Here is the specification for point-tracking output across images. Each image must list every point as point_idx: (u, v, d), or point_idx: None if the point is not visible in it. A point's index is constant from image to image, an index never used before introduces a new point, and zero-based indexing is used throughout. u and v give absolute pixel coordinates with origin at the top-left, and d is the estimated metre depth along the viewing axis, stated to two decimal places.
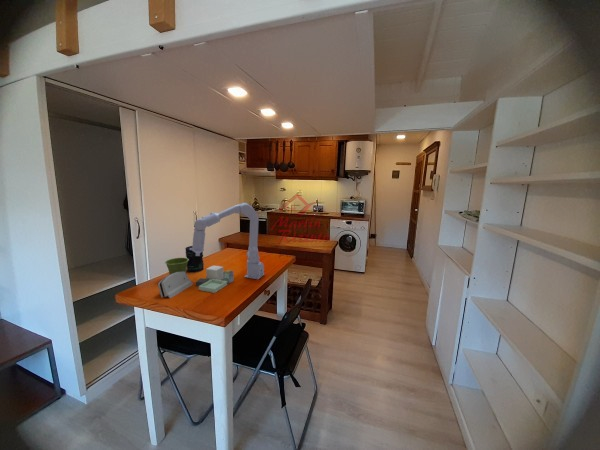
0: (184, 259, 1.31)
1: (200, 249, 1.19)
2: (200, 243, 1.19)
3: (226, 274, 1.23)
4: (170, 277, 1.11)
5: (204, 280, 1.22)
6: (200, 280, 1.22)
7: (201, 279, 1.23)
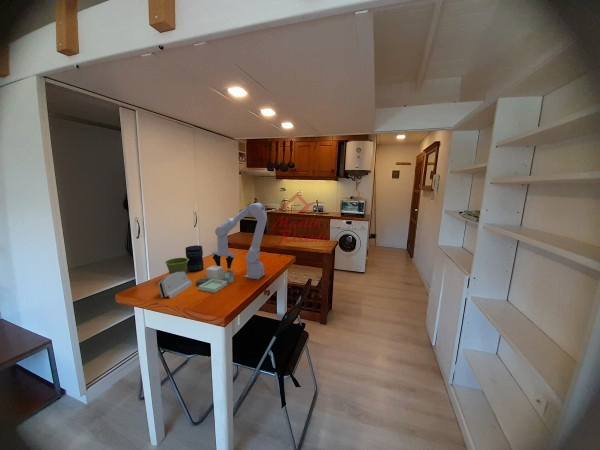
0: (184, 259, 1.31)
1: (228, 252, 1.34)
2: (227, 247, 1.33)
3: (226, 274, 1.23)
4: (170, 277, 1.11)
5: (204, 280, 1.22)
6: (200, 280, 1.22)
7: (201, 279, 1.23)
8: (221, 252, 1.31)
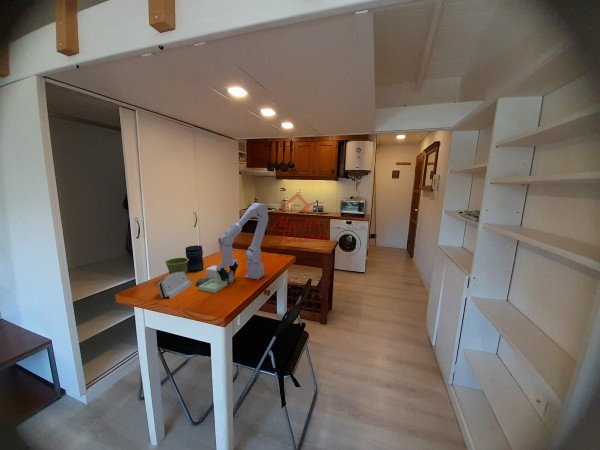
0: (184, 259, 1.31)
1: None
2: None
3: (226, 274, 1.23)
4: (169, 277, 1.11)
5: (204, 280, 1.22)
6: (200, 280, 1.22)
7: (201, 279, 1.23)
8: (232, 261, 1.23)
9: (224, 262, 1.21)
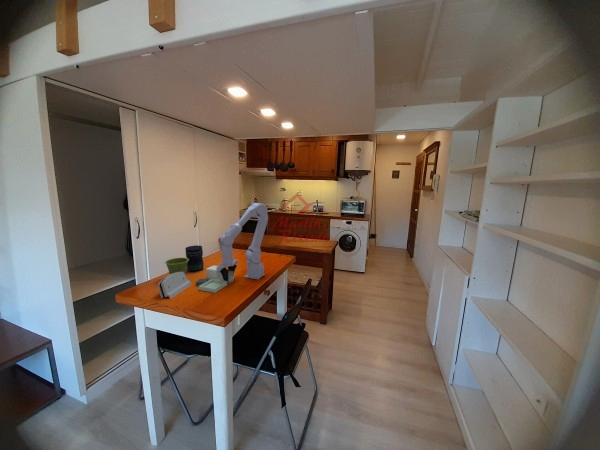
0: (184, 259, 1.31)
1: None
2: None
3: None
4: (169, 277, 1.11)
5: (204, 280, 1.22)
6: (200, 280, 1.22)
7: (201, 279, 1.23)
8: (232, 261, 1.23)
9: (224, 262, 1.21)
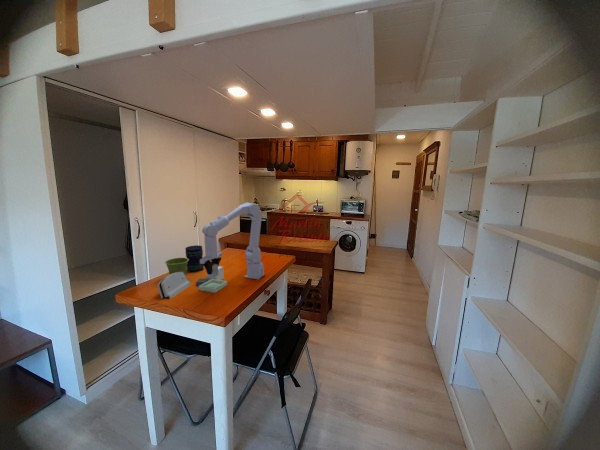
0: (184, 259, 1.31)
1: None
2: None
3: None
4: (169, 277, 1.11)
5: (204, 280, 1.22)
6: (200, 280, 1.22)
7: (201, 279, 1.23)
8: (216, 253, 1.15)
9: (208, 255, 1.12)
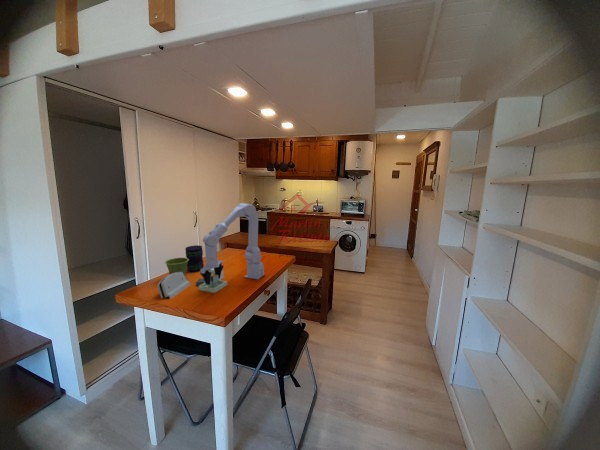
0: (184, 259, 1.31)
1: None
2: None
3: (210, 278, 1.15)
4: (169, 278, 1.11)
5: (204, 280, 1.22)
6: (200, 280, 1.22)
7: (201, 279, 1.23)
8: (217, 262, 1.16)
9: (209, 264, 1.13)
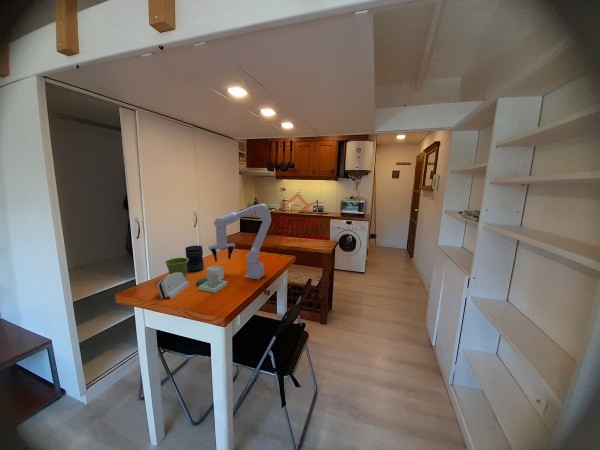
0: (184, 259, 1.31)
1: None
2: None
3: (210, 278, 1.15)
4: (169, 278, 1.10)
5: (204, 280, 1.22)
6: (200, 280, 1.22)
7: (201, 279, 1.23)
8: (224, 244, 1.29)
9: (217, 243, 1.29)
